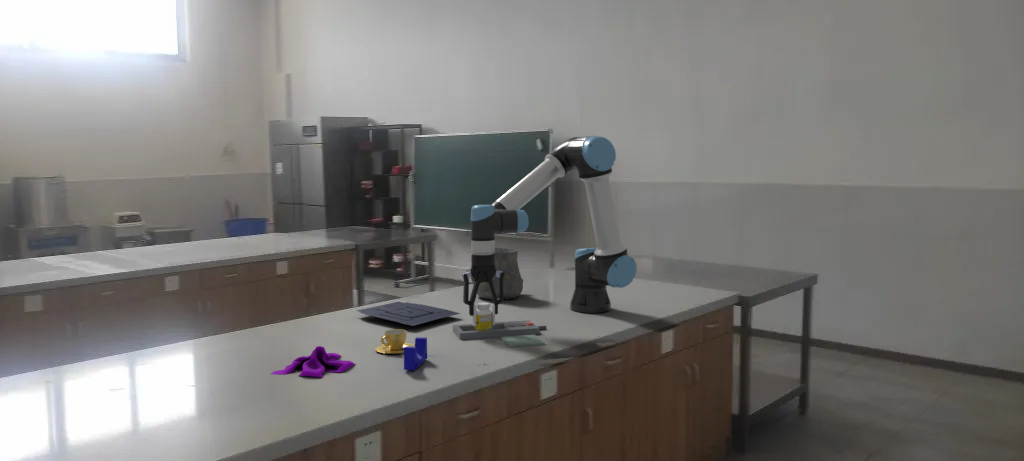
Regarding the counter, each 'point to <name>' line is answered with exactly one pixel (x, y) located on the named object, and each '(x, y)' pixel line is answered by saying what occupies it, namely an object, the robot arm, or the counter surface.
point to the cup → (393, 341)
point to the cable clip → (415, 354)
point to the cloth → (316, 364)
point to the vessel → (511, 279)
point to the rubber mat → (522, 340)
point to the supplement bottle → (483, 317)
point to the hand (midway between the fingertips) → (483, 324)
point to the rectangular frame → (498, 330)
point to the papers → (407, 312)
